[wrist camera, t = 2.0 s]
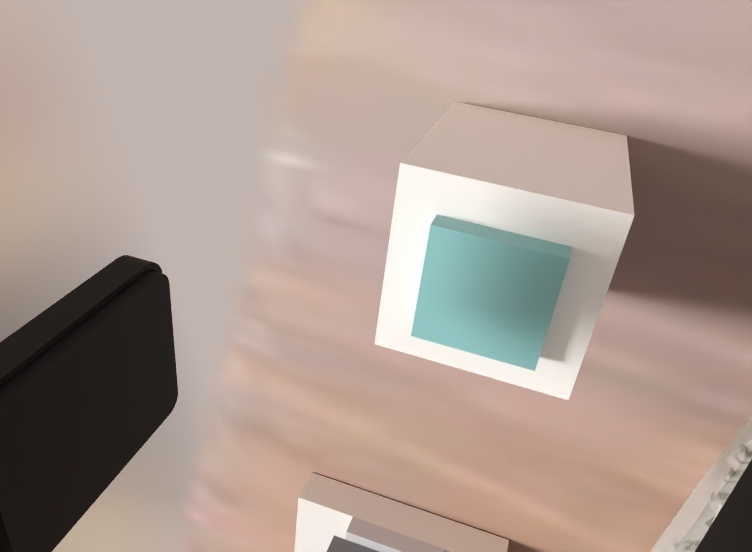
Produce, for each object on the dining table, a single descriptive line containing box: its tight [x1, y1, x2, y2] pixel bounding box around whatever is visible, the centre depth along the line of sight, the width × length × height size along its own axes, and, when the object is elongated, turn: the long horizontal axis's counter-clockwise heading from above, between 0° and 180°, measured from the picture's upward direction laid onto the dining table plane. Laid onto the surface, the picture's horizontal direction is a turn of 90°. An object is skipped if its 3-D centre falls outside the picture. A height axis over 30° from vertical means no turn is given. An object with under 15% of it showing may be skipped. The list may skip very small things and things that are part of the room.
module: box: [375, 102, 635, 400], centre depth 17 cm, size 5×5×7 cm
